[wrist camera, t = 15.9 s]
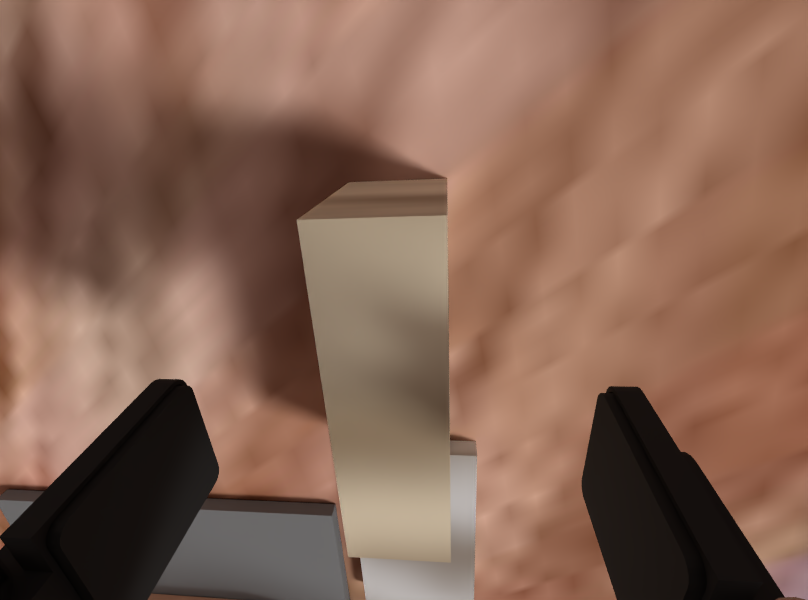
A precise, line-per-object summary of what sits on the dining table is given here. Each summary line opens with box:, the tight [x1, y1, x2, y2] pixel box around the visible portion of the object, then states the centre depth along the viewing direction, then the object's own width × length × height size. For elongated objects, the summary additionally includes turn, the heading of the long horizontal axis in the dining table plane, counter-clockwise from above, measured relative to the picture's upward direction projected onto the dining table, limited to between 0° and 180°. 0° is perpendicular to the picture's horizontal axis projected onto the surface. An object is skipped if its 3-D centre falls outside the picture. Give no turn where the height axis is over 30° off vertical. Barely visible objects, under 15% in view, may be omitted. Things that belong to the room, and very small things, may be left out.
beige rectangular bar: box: [297, 178, 477, 600], centre depth 14 cm, size 19×5×5 cm, turn 3°
